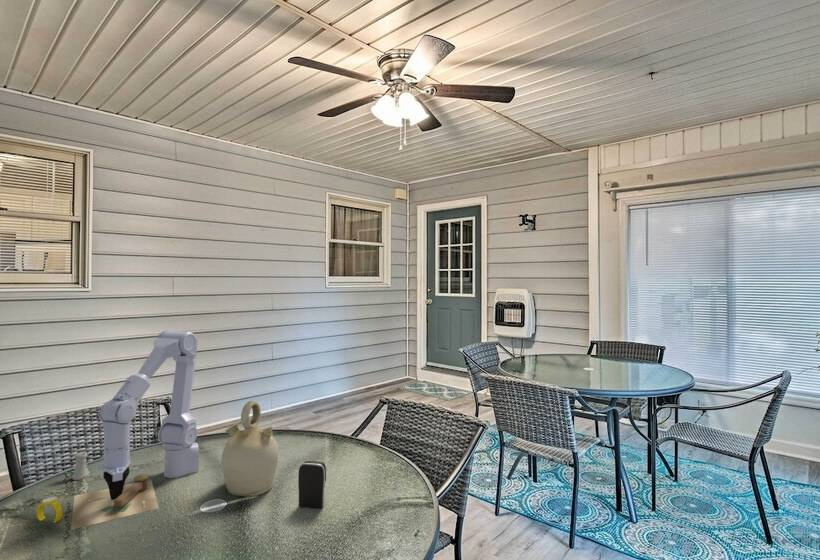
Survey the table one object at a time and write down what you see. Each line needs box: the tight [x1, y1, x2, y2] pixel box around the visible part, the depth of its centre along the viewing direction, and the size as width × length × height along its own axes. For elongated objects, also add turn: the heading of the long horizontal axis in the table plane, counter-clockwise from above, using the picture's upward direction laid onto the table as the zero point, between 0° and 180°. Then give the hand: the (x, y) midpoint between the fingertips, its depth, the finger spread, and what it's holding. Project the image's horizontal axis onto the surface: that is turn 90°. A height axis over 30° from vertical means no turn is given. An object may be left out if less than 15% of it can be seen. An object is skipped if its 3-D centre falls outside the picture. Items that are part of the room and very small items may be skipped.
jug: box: [221, 400, 279, 499], centre depth 127 cm, size 15×16×25 cm
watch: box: [36, 496, 63, 524], centre depth 107 cm, size 6×3×6 cm, turn 80°
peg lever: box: [114, 474, 149, 508], centre depth 118 cm, size 14×3×4 cm, turn 7°
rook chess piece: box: [71, 451, 90, 481], centre depth 131 cm, size 4×4×8 cm
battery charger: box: [297, 460, 327, 509], centre depth 118 cm, size 7×4×11 cm, turn 84°
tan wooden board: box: [70, 479, 160, 531], centre depth 116 cm, size 18×20×1 cm
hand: (116, 498), depth 115 cm, fingers closed, pressing on peg lever
